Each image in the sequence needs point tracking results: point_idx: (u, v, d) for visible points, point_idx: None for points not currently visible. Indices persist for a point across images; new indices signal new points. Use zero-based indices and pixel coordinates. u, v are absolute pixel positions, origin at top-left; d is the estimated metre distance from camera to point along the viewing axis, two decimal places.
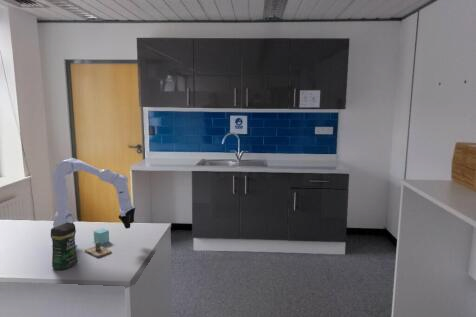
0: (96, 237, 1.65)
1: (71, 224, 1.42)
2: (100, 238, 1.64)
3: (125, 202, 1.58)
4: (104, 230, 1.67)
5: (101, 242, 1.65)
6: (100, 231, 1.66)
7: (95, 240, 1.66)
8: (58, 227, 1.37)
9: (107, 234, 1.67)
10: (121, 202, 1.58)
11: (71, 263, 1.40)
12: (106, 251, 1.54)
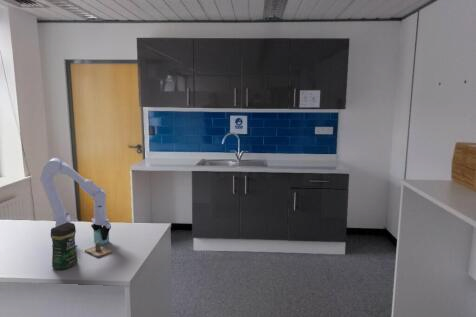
0: (96, 237, 1.65)
1: (71, 224, 1.42)
2: (100, 238, 1.64)
3: (105, 215, 1.65)
4: None
5: (101, 242, 1.65)
6: (100, 231, 1.66)
7: (95, 240, 1.66)
8: (58, 227, 1.37)
9: None
10: (101, 215, 1.63)
11: (71, 263, 1.40)
12: (106, 251, 1.54)
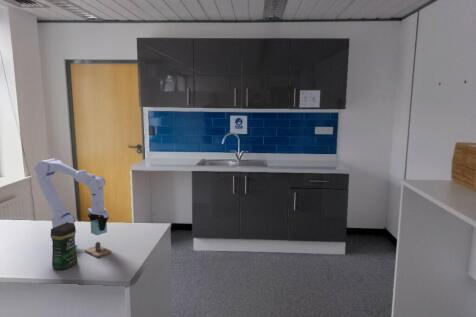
0: (93, 227, 1.57)
1: (71, 224, 1.42)
2: (97, 228, 1.55)
3: (102, 204, 1.56)
4: None
5: (98, 233, 1.56)
6: (97, 221, 1.57)
7: (92, 231, 1.57)
8: (58, 227, 1.37)
9: None
10: (99, 204, 1.55)
11: (71, 263, 1.40)
12: (106, 251, 1.54)
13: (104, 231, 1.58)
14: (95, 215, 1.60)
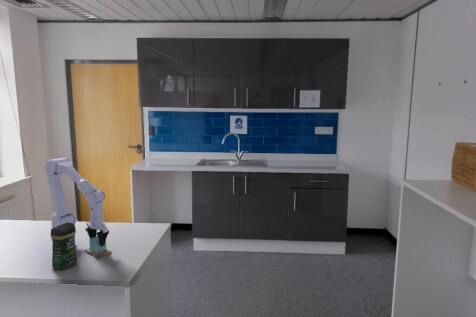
0: (92, 245, 1.53)
1: (71, 224, 1.42)
2: (96, 246, 1.52)
3: (101, 218, 1.52)
4: None
5: (97, 251, 1.52)
6: (96, 239, 1.54)
7: (91, 248, 1.54)
8: (58, 227, 1.37)
9: None
10: (98, 219, 1.51)
11: (71, 263, 1.40)
12: (106, 251, 1.54)
13: (103, 249, 1.55)
14: (93, 229, 1.56)
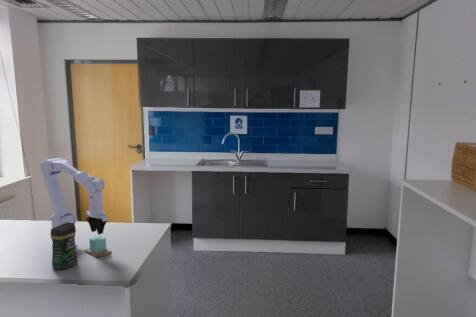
0: (92, 245, 1.53)
1: (71, 224, 1.42)
2: (96, 246, 1.52)
3: (101, 207, 1.52)
4: (101, 237, 1.55)
5: (97, 251, 1.52)
6: (96, 239, 1.54)
7: (91, 248, 1.54)
8: (58, 227, 1.37)
9: (104, 242, 1.55)
10: (97, 207, 1.50)
11: (71, 263, 1.40)
12: (106, 251, 1.54)
13: (103, 249, 1.55)
14: (94, 218, 1.55)
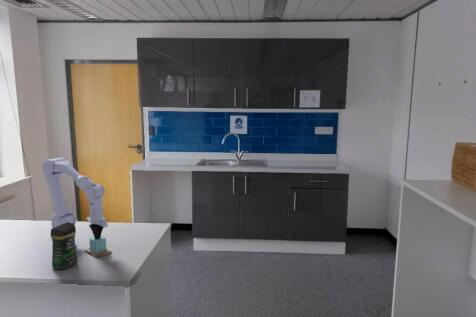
0: (92, 245, 1.53)
1: (71, 224, 1.42)
2: (96, 246, 1.52)
3: (101, 213, 1.52)
4: (101, 238, 1.55)
5: (97, 251, 1.52)
6: (96, 239, 1.54)
7: (91, 248, 1.54)
8: (58, 227, 1.37)
9: (104, 242, 1.55)
10: (97, 214, 1.50)
11: (71, 263, 1.40)
12: (106, 251, 1.54)
13: (103, 249, 1.55)
14: None
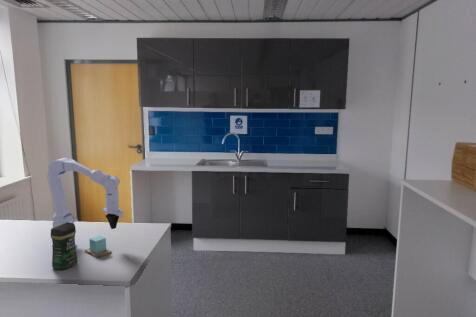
0: (92, 245, 1.53)
1: (71, 224, 1.42)
2: (96, 246, 1.52)
3: (117, 204, 1.57)
4: (101, 237, 1.55)
5: (97, 251, 1.52)
6: (96, 239, 1.54)
7: (91, 248, 1.54)
8: (58, 227, 1.37)
9: (104, 242, 1.55)
10: (114, 204, 1.56)
11: (71, 263, 1.40)
12: (106, 251, 1.54)
13: (103, 249, 1.55)
14: None
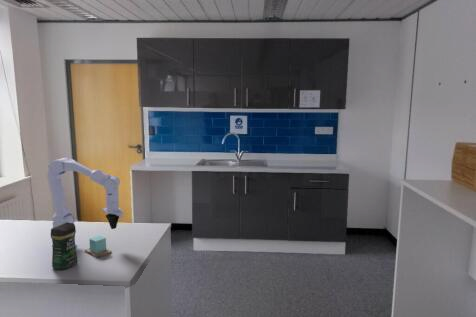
0: (92, 245, 1.53)
1: (71, 224, 1.42)
2: (96, 246, 1.52)
3: (117, 204, 1.57)
4: (101, 237, 1.55)
5: (97, 251, 1.52)
6: (96, 239, 1.54)
7: (91, 248, 1.54)
8: (58, 227, 1.37)
9: (104, 242, 1.55)
10: (114, 204, 1.56)
11: (71, 263, 1.40)
12: (106, 251, 1.54)
13: (103, 249, 1.55)
14: None
